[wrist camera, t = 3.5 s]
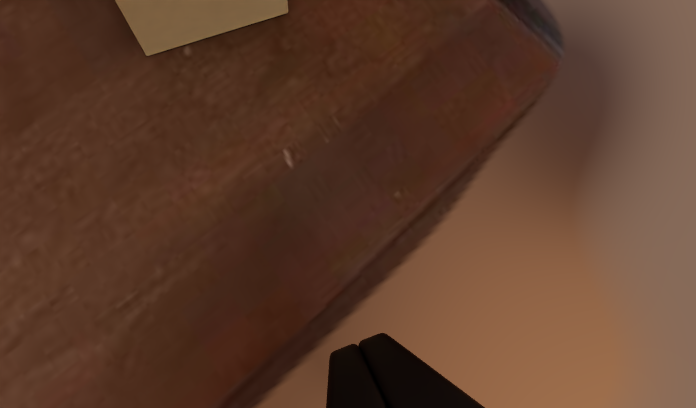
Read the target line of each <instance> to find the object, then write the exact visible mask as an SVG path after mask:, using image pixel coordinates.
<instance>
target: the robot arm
mask: <svg viewBox="0 0 696 408" xmlns="http://www.w3.org/2000/svg"><path fill="white" fill-rule="evenodd" d="M326 408H485V407H483V406H482V405H481V404H479V403H478V402H477V401H475V400H474V399H473V398H471V397H470V396H469V395H467V394H466V393H465V392H463V391H462V390H461V389H459V388H458V387H457V386H455V385H454V384H452V383H451V382H450V381H448V380H447V379H446V378H444V377H443V376H442V375H441V374H439V373H438V372H437V371H435V370H434V369H433V368H431V367H430V366H429V365H427V364H426V363H425V362H423V361H422V360H421V359H419V358H418V357H417V356H415V355H414V354H413V353H411V352H410V351H409V350H407V349H406V348H405V347H403V346H402V345H401V344H399V343H398V342H397V341H395V340H394V339H392V338H391V337H390V336H388V335H387V334H385V333H380V334H377V335H374V336H372V337H370V338H367V339H364V340H362V341H361V342H360V343H359V347H358V346H357V345H356V344H351V345H348V346H346V347H343V348H341V349H338V350H336V351H334V352H332V353H331V355H330V360H329V375H328V389H327V404H326Z"/></svg>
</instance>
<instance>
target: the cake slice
mask: <svg viewBox="0 0 696 408" xmlns="http://www.w3.org/2000/svg"><path fill="white" fill-rule="evenodd" d="M115 1H116V3H117V5H118V7H119V8H120V10H121V12H122V14H123V15H124V17H125V19H126V21H127V23H128V24H129V26H130V28H131V30H132V31H133V33H134V35H135V37H136V38H137V40H138V42H139V44H140V46H141V47H142V49H143V51H144V53H145V54H146V56H149V55H153V54H156V53H159V52H162V51H166V50H169V49H172V48H175V47H179V46H182V45H185V44H188V43H192V42H195V41H198V40H201V39H205V38H208V37H211V36H214V35H218V34H221V33H224V32H227V31H231V30H234V29H237V28H240V27H244V26H247V25H250V24H253V23H257V22H260V21H263V20H267V19H270V18H273V17H276V16H280V15H283V14H286V13H288V0H115Z"/></svg>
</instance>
